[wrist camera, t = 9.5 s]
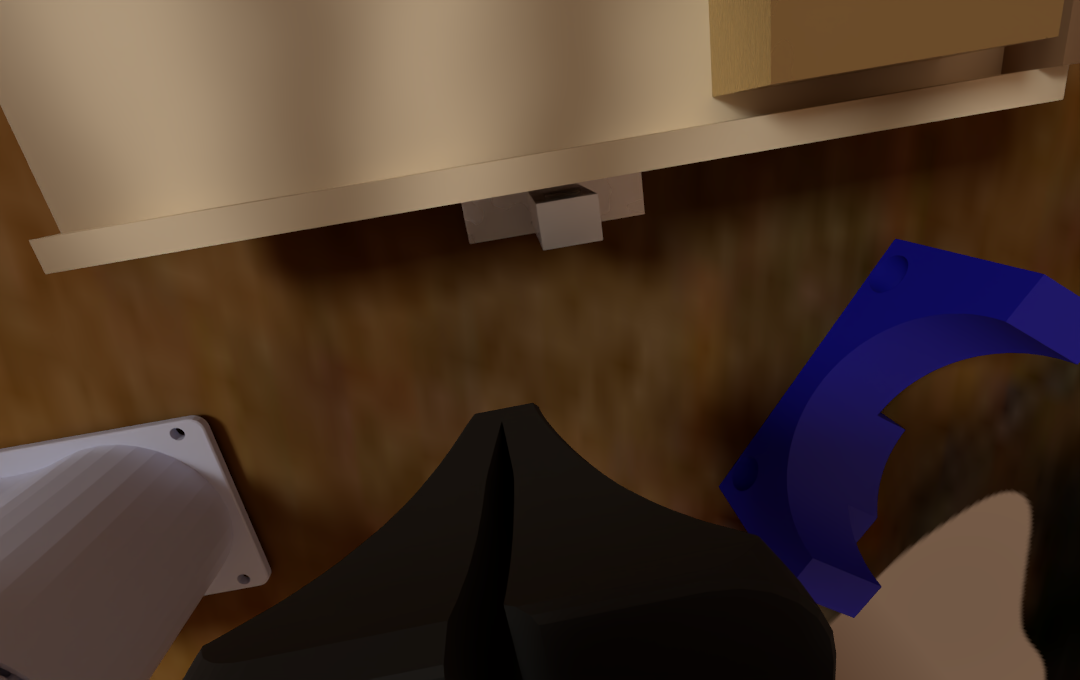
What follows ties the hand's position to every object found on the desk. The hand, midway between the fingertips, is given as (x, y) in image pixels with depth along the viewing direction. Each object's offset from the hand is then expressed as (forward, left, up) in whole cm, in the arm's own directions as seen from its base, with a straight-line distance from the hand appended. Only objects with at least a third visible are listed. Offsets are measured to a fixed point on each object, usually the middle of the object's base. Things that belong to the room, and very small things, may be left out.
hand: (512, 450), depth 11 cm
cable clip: (+13, -6, -10) cm, 17 cm away
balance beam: (+2, +8, -5) cm, 10 cm away
